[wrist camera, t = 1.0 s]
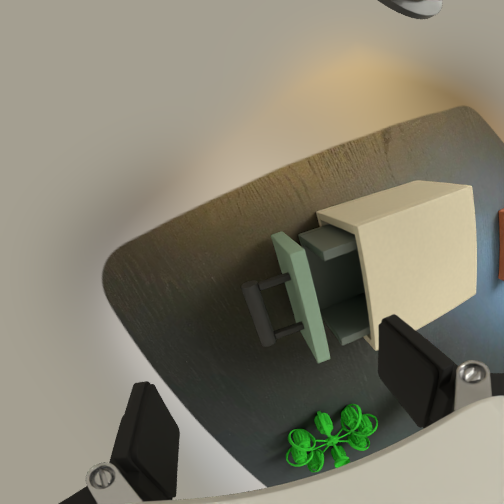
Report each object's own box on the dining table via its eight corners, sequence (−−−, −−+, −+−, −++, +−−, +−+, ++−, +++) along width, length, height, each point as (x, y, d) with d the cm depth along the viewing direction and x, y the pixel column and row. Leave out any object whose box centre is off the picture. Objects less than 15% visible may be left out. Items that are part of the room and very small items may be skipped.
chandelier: (266, 426, 35) (275, 463, 29) (363, 382, 35) (385, 413, 29) (297, 467, 39) (307, 497, 33) (376, 432, 40) (392, 458, 33)
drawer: (260, 337, 30) (273, 379, 23) (229, 248, 27) (234, 273, 20) (394, 285, 31) (431, 310, 24) (380, 198, 28) (423, 206, 21)
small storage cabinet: (338, 309, 32) (375, 351, 23) (315, 211, 29) (357, 226, 20) (428, 269, 32) (476, 294, 24) (416, 180, 29) (472, 185, 20)
